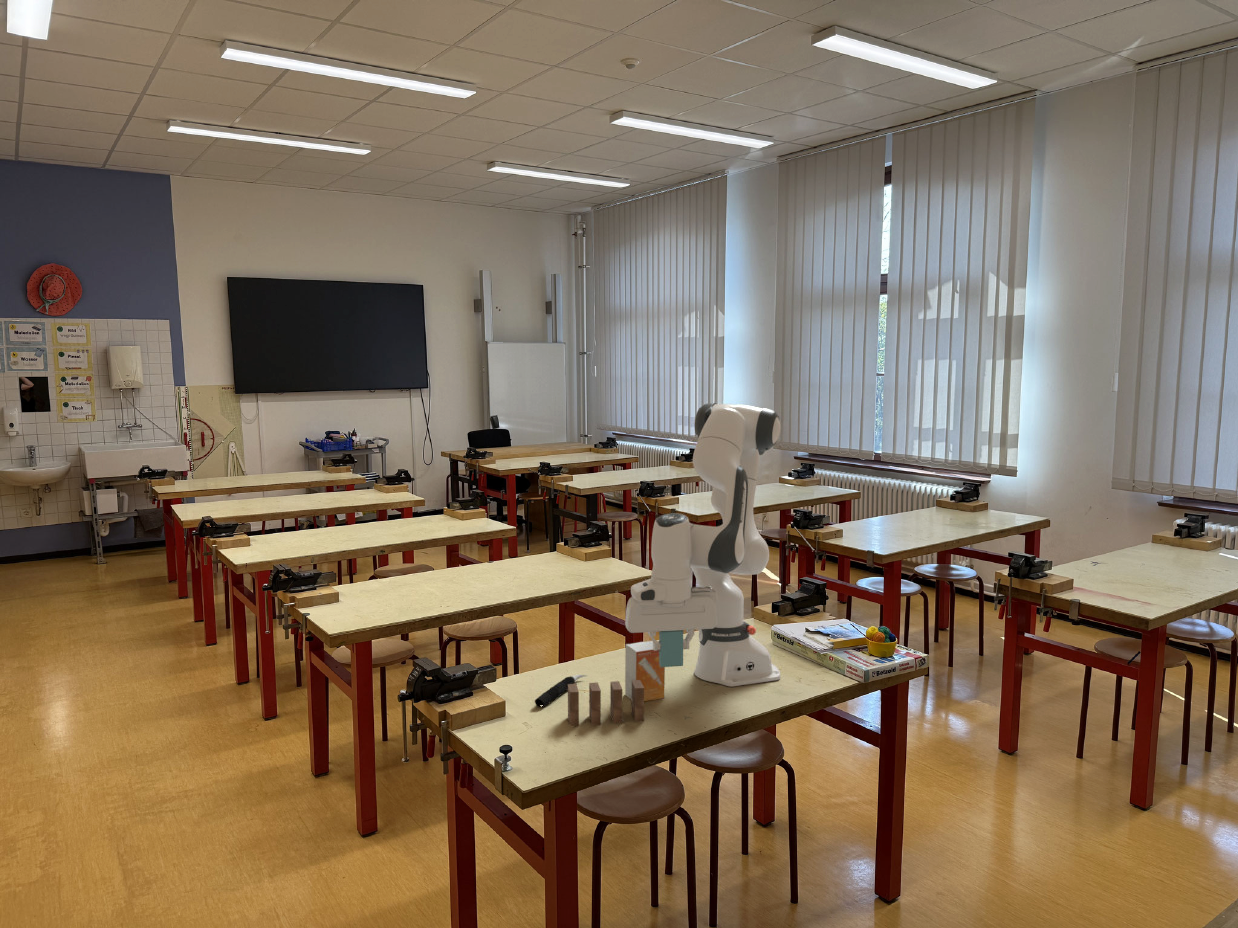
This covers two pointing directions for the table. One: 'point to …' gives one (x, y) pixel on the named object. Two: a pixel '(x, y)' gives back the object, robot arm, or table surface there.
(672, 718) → the table surface
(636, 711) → the domino
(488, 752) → the table surface
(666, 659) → the domino
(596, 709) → the domino
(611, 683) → the domino
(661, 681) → the small box
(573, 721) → the domino
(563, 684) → the utility knife
